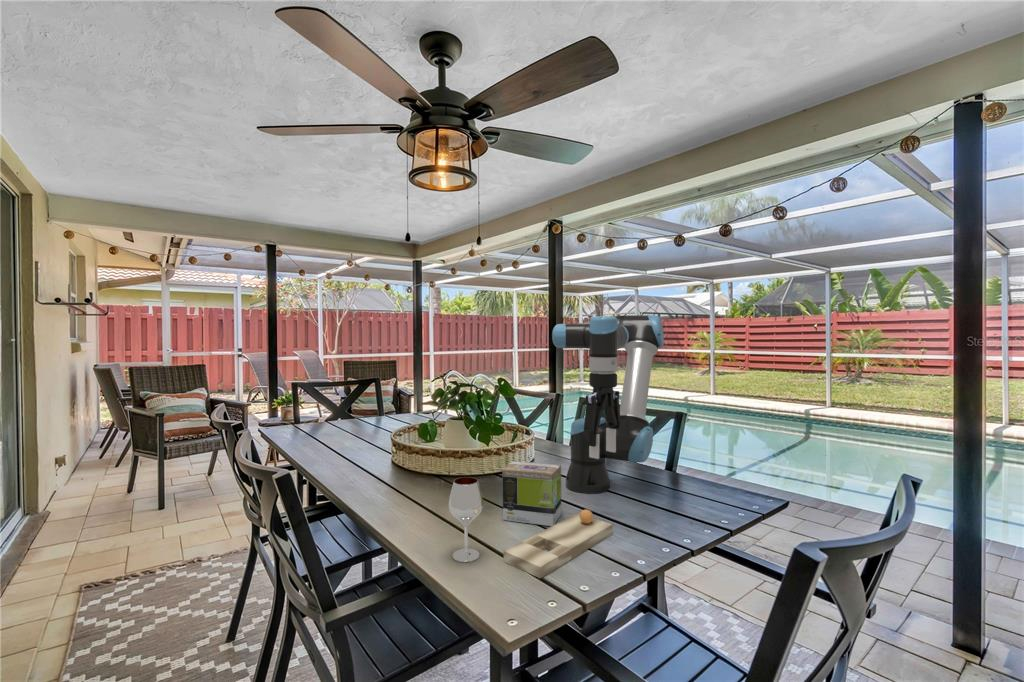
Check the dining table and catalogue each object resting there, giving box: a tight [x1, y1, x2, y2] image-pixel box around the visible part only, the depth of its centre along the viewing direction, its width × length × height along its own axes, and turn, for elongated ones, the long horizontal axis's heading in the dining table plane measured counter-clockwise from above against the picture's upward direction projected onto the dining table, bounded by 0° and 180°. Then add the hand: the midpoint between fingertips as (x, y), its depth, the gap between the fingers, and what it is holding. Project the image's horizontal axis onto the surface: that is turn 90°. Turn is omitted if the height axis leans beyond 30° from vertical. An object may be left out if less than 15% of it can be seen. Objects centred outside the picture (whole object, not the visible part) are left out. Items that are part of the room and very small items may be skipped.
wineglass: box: [448, 476, 484, 563], centre depth 112 cm, size 8×8×18 cm
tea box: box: [501, 460, 562, 527], centre depth 135 cm, size 15×10×15 cm, turn 71°
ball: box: [579, 509, 594, 524], centre depth 125 cm, size 4×4×4 cm
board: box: [503, 513, 613, 579], centre depth 117 cm, size 11×30×2 cm, turn 137°
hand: (602, 454), depth 130 cm, fingers open, 8 cm apart
